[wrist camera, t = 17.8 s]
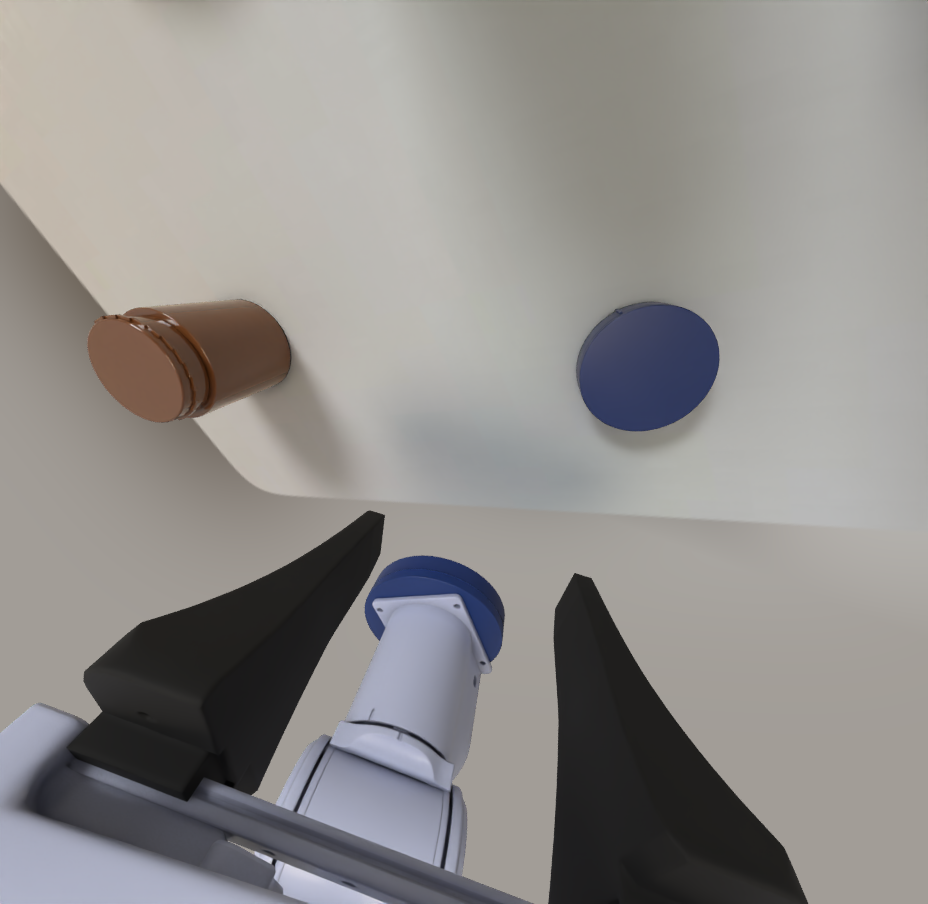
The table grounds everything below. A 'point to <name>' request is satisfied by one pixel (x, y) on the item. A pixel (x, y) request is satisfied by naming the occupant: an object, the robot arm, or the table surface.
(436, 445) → the table surface
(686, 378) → the lid
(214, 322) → the jar
